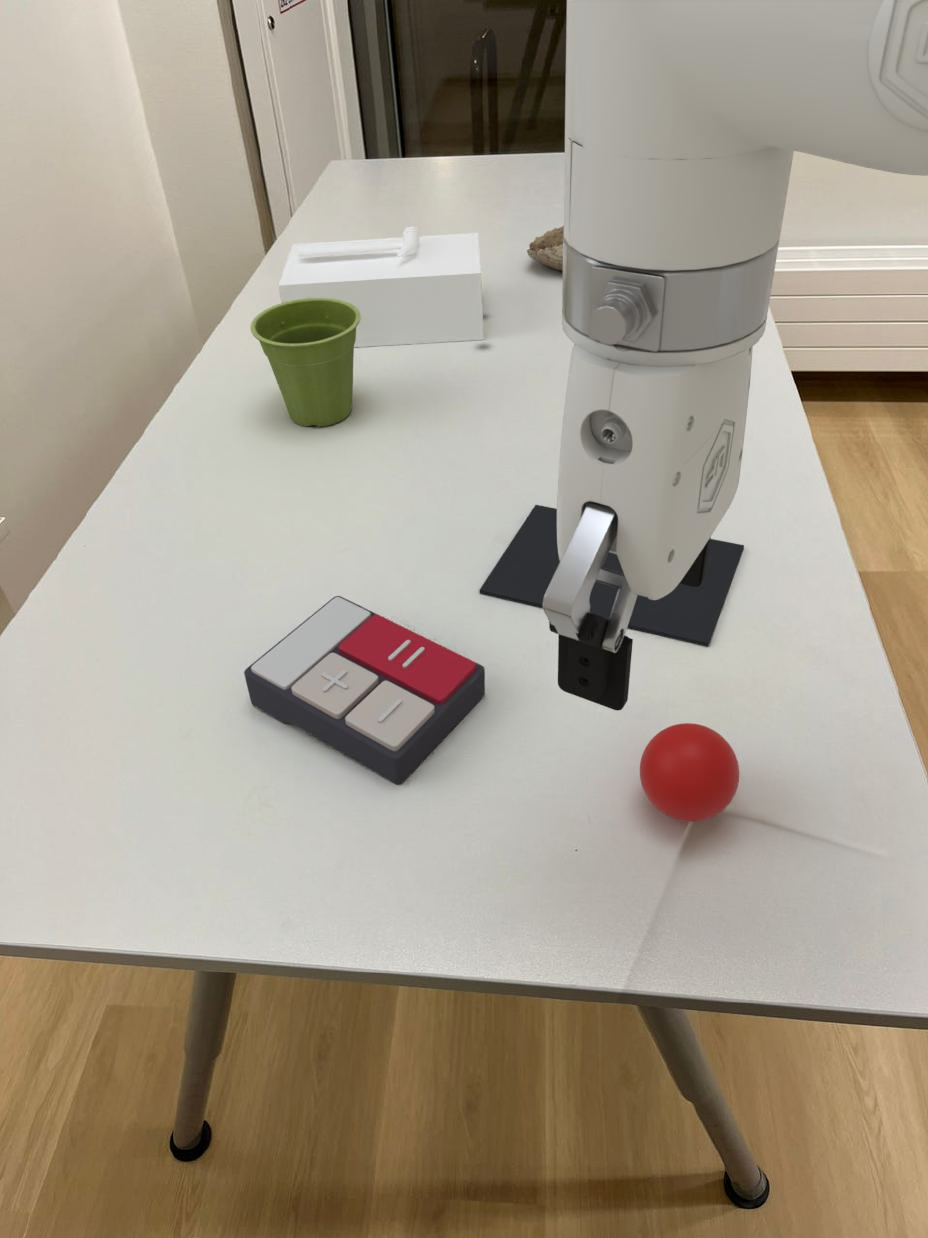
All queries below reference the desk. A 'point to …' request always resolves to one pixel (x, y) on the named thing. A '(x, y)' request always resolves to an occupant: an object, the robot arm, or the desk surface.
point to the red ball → (689, 772)
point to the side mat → (670, 616)
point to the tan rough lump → (548, 249)
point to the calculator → (366, 687)
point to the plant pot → (311, 356)
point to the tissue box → (395, 285)
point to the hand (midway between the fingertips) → (635, 632)
